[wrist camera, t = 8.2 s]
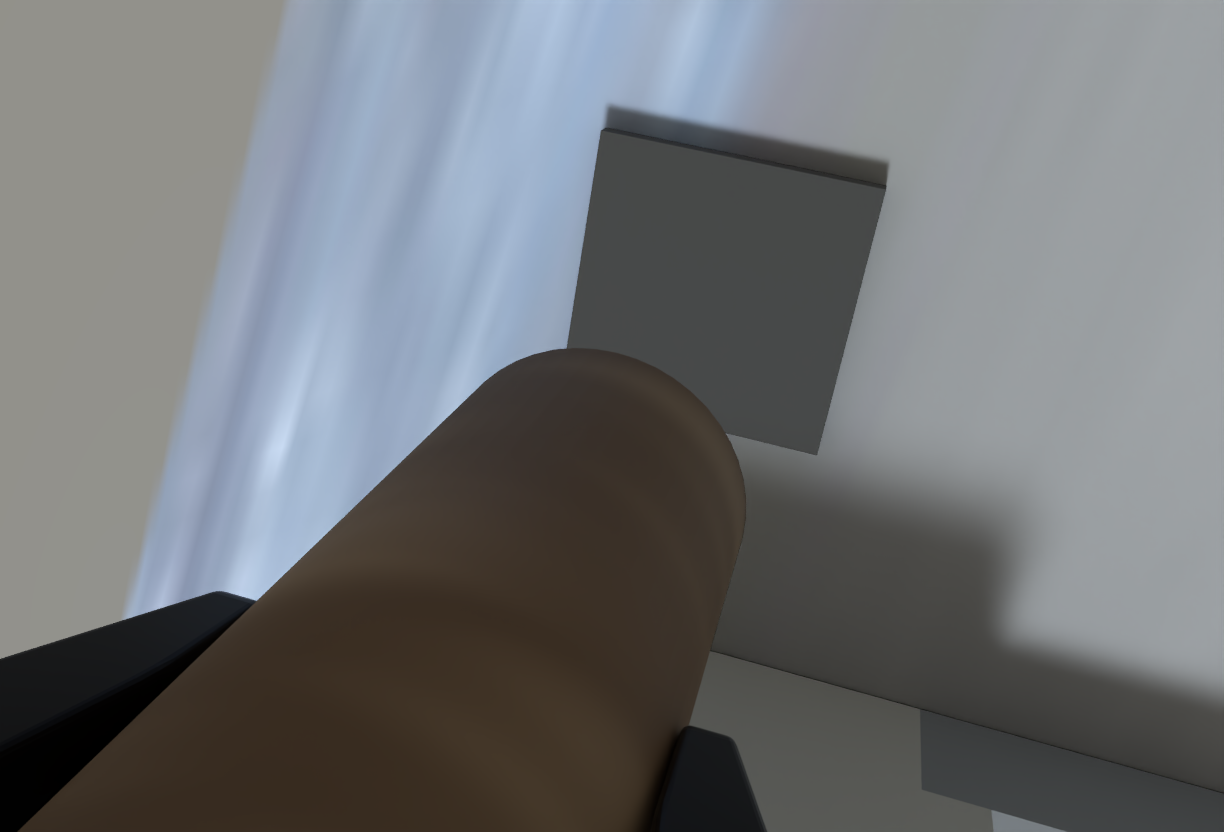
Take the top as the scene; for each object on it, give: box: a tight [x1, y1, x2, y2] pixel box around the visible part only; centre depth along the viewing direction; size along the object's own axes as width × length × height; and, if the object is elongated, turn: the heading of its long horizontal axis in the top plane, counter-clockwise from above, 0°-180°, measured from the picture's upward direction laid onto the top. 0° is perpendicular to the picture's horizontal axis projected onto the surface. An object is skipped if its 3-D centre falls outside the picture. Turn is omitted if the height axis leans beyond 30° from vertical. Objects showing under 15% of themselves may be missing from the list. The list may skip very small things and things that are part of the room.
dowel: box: [17, 348, 746, 832], centre depth 8 cm, size 4×4×10 cm
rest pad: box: [567, 128, 886, 455], centre depth 21 cm, size 5×5×1 cm
